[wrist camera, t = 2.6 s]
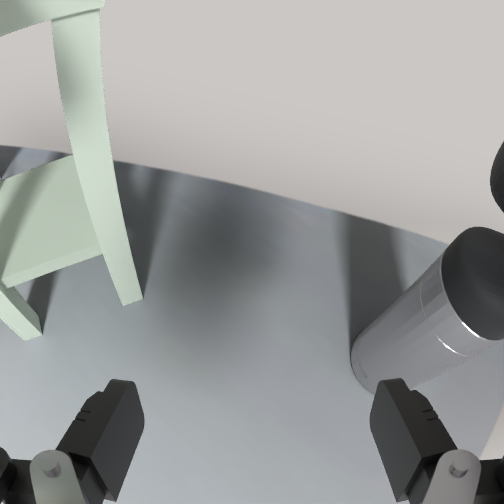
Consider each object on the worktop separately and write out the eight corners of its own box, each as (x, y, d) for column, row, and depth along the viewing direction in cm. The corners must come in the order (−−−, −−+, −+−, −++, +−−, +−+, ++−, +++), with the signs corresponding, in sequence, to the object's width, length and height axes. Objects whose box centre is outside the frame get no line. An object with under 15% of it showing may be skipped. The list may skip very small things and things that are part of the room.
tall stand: (112, 203, 42) (88, -35, 17) (145, 300, 35) (105, -28, 9) (12, 238, 36) (-68, 23, 10) (23, 343, 29) (-150, 95, 3)
